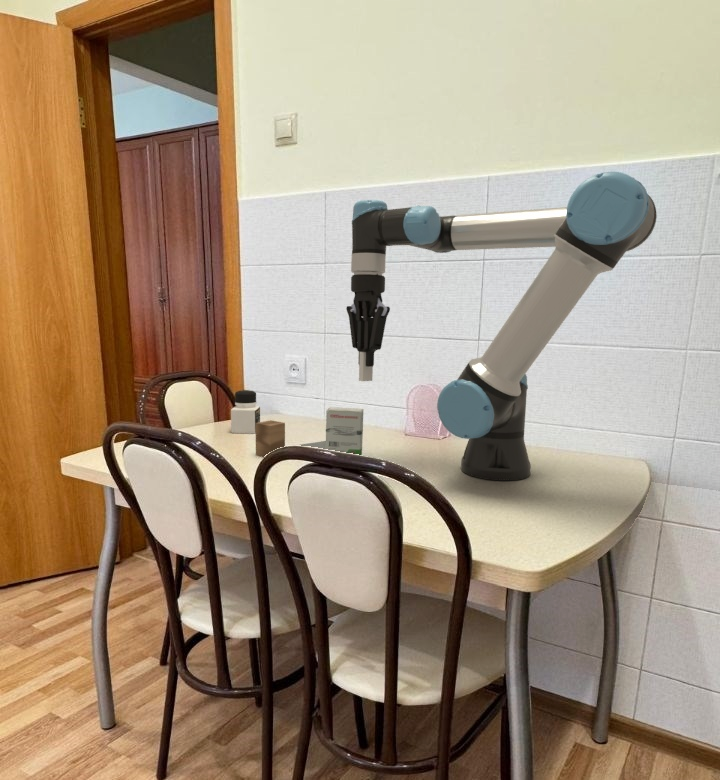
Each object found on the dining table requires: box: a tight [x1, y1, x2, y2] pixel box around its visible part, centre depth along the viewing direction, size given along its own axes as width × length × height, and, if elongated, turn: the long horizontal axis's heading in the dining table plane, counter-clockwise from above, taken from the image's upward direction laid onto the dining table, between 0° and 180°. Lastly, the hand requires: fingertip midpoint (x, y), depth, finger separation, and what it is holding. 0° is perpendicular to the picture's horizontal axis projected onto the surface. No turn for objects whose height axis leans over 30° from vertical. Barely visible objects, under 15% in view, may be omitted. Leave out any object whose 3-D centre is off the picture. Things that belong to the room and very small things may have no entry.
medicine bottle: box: [230, 389, 261, 435], centre depth 164 cm, size 7×7×12 cm
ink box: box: [325, 406, 364, 456], centre depth 135 cm, size 9×5×12 cm, turn 84°
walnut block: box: [255, 419, 286, 458], centre depth 137 cm, size 5×5×8 cm
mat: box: [300, 440, 326, 449], centre depth 143 cm, size 12×18×1 cm
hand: (365, 380), depth 127 cm, fingers closed
